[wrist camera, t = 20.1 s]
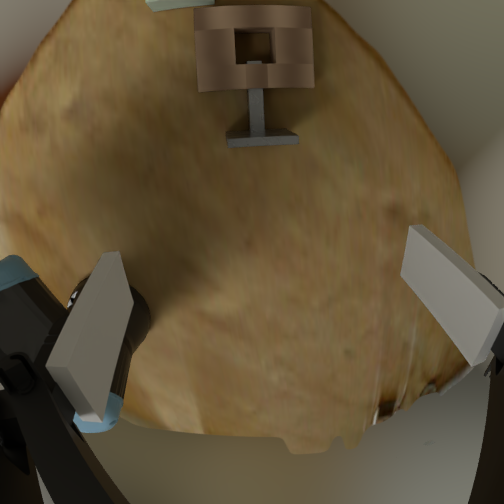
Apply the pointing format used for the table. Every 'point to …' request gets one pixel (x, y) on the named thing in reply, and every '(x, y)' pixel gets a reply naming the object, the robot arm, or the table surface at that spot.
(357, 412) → the table surface
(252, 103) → the grey t-shaped plug
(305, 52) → the socket block
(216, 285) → the table surface
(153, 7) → the hollow square block
